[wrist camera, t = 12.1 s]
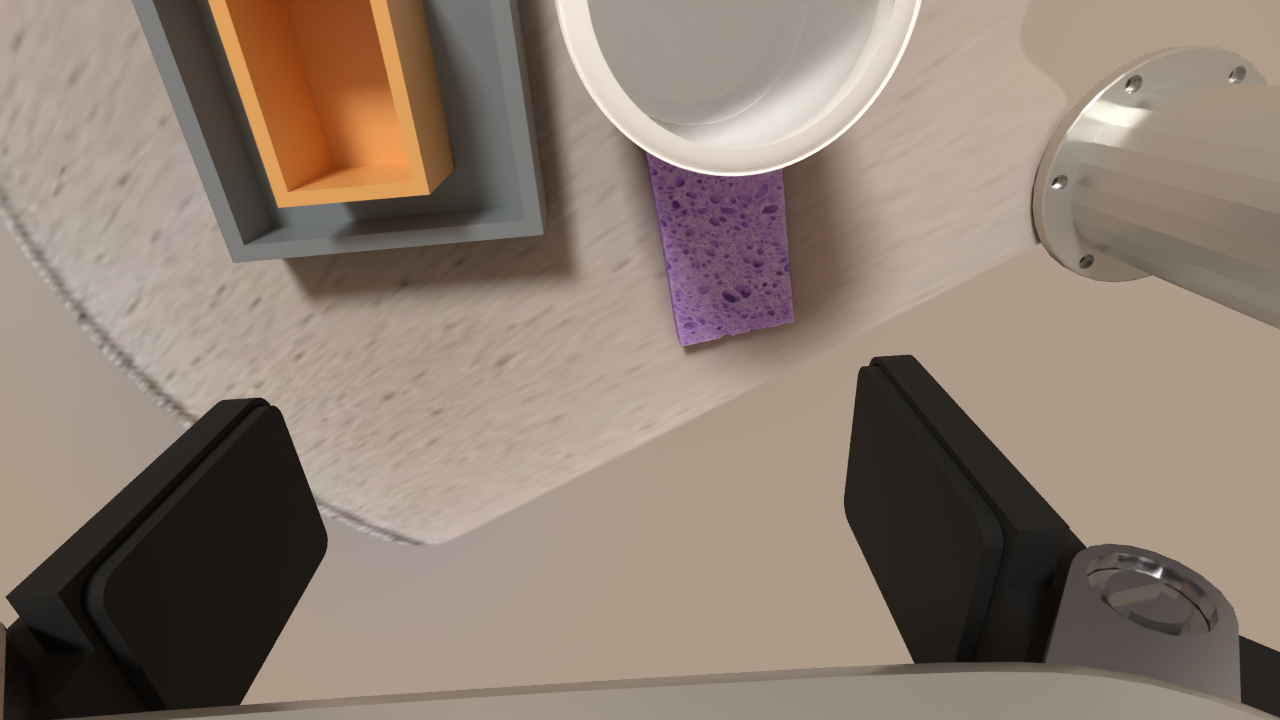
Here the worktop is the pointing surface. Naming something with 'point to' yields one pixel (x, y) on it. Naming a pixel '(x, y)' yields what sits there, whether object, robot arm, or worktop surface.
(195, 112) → the grey square tray
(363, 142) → the small crate
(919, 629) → the robot arm
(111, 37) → the worktop surface
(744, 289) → the sponges
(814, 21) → the jar
